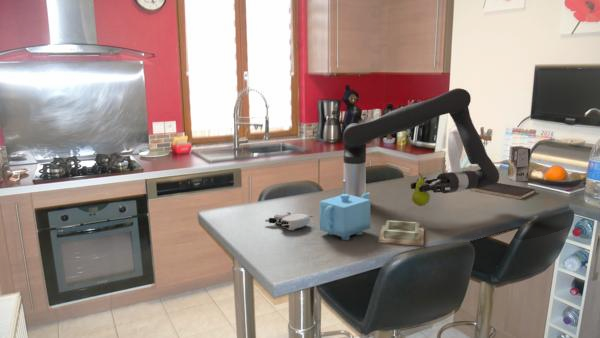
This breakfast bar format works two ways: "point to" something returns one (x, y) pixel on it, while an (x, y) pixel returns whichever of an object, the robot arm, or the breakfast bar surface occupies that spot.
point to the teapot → (345, 215)
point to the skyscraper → (454, 151)
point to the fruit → (420, 194)
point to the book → (506, 190)
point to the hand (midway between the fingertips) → (415, 187)
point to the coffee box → (519, 163)
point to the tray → (402, 233)
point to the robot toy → (290, 220)
